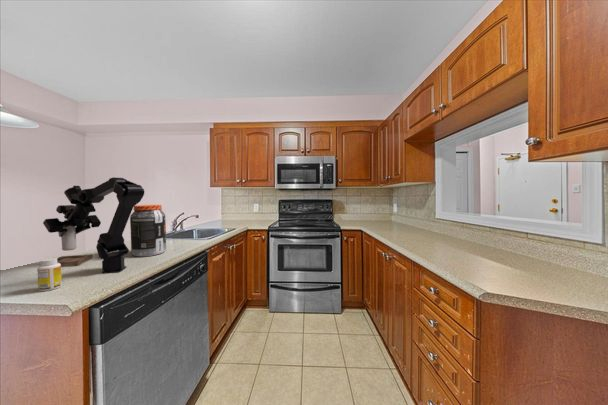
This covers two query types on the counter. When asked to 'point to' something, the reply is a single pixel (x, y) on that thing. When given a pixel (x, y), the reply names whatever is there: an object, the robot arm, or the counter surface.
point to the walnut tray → (73, 260)
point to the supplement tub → (148, 230)
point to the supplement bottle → (49, 274)
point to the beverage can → (69, 239)
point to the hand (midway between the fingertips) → (66, 235)
